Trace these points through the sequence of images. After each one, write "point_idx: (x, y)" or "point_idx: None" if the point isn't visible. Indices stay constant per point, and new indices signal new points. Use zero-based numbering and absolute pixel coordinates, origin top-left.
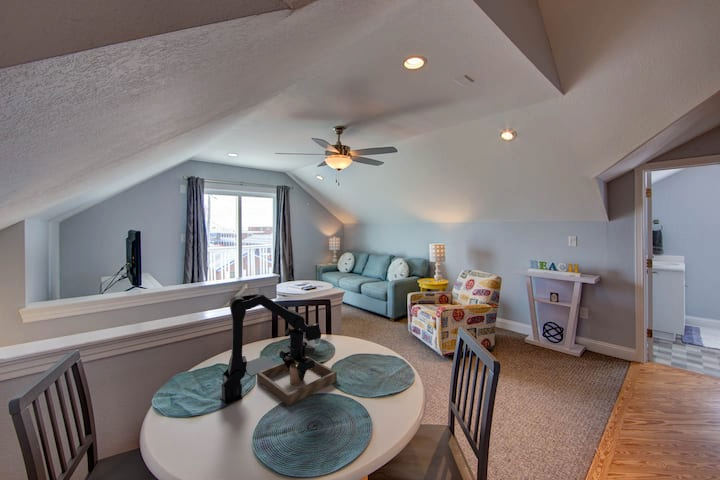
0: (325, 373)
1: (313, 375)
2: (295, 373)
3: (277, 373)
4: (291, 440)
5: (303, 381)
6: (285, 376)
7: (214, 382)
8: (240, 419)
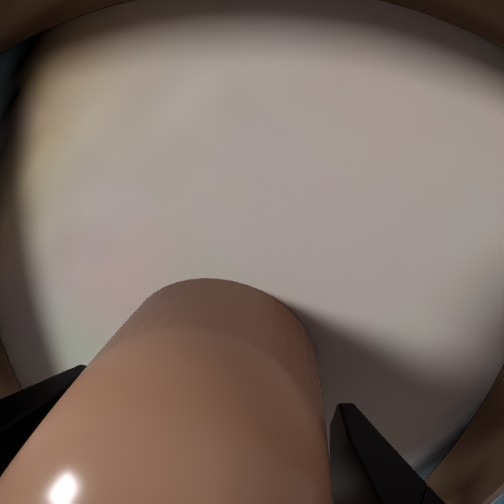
0: (471, 2)
1: (274, 81)
2: None
3: (3, 368)
4: (498, 500)
5: (308, 337)
6: (51, 355)
7: None
8: None
